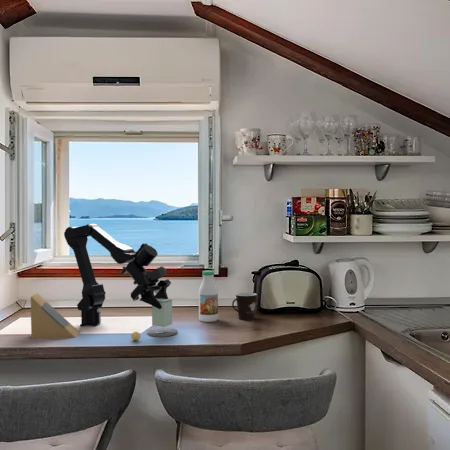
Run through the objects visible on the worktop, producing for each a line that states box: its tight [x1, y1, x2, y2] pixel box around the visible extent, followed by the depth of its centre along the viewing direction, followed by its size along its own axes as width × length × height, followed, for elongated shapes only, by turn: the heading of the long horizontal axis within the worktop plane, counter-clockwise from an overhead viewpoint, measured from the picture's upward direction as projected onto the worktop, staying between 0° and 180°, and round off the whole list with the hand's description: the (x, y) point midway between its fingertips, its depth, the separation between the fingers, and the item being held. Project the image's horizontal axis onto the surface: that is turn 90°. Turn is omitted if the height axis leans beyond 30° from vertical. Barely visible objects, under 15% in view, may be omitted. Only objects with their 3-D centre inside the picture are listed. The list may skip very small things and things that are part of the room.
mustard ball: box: [130, 331, 141, 341], centre depth 173 cm, size 3×3×3 cm
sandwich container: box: [30, 292, 80, 339], centre depth 181 cm, size 9×15×15 cm, turn 96°
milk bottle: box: [198, 269, 219, 323], centre depth 204 cm, size 8×8×20 cm
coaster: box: [146, 327, 179, 338], centre depth 183 cm, size 11×11×1 cm
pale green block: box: [151, 298, 173, 328], centre depth 183 cm, size 5×5×9 cm
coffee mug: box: [231, 292, 258, 321], centre depth 206 cm, size 12×9×10 cm
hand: (165, 306), depth 182 cm, fingers closed on pale green block, 5 cm apart
